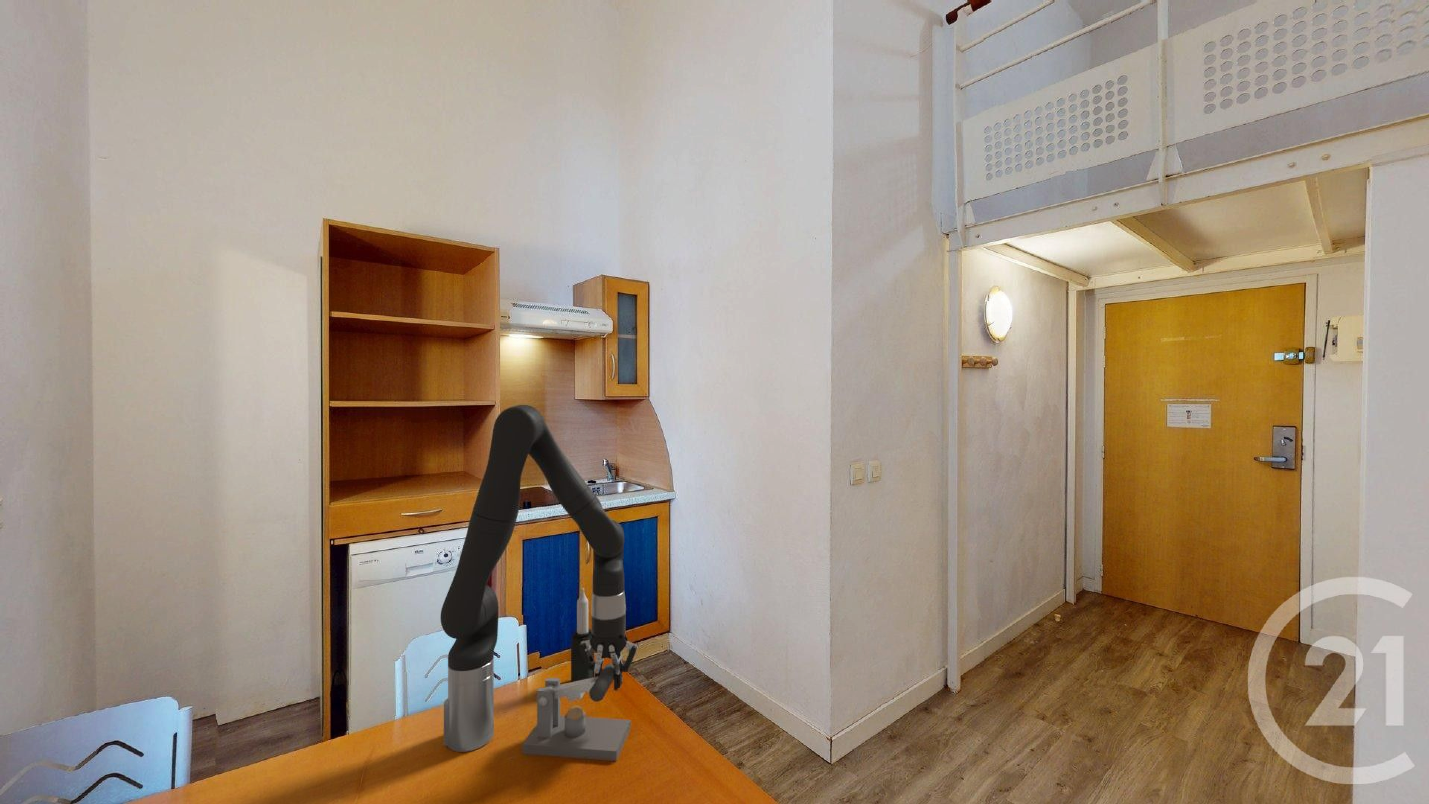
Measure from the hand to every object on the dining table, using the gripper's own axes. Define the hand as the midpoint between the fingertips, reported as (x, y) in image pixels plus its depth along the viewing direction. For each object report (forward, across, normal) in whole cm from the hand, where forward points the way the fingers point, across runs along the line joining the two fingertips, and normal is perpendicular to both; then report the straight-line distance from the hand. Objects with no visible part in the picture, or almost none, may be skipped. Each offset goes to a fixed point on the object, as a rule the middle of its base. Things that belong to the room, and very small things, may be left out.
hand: (608, 687), depth 121 cm
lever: (+1, -6, -3) cm, 7 cm away
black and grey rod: (+10, -14, +21) cm, 27 cm away
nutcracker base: (+10, -6, -3) cm, 12 cm away
